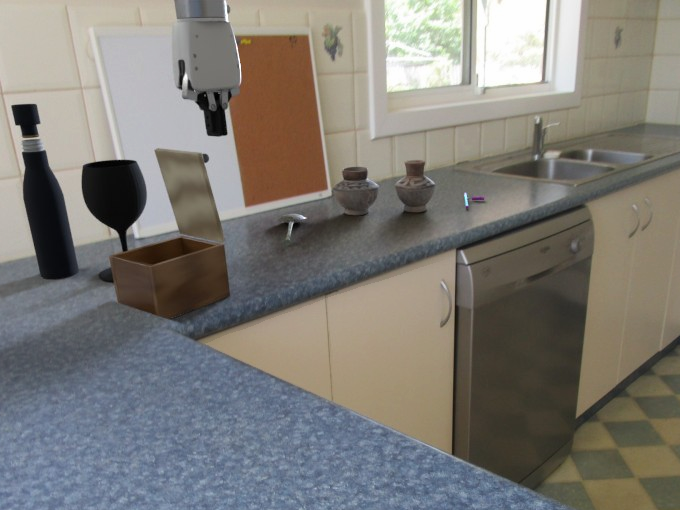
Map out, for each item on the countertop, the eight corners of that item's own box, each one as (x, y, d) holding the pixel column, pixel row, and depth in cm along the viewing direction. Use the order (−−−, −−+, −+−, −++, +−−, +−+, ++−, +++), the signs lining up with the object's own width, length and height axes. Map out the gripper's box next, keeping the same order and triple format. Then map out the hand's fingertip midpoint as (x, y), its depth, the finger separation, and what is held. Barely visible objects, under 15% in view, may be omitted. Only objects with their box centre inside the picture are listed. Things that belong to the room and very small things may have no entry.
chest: (160, 323, 99) (151, 267, 96) (118, 309, 105) (108, 255, 101) (230, 295, 109) (224, 244, 106) (189, 284, 115) (182, 235, 112)
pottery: (439, 214, 159) (439, 164, 155) (334, 219, 156) (331, 168, 152) (431, 204, 169) (431, 156, 165) (333, 208, 167) (330, 161, 163)
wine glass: (128, 285, 115) (107, 170, 108) (85, 278, 119) (63, 166, 112) (171, 268, 124) (155, 160, 117) (130, 262, 128) (112, 157, 121)
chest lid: (197, 154, 99) (218, 145, 101) (153, 149, 104) (175, 141, 107) (222, 242, 106) (241, 232, 108) (179, 233, 111) (198, 224, 114)
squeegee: (486, 205, 163) (466, 205, 163) (486, 208, 163) (466, 208, 164) (482, 192, 177) (464, 192, 177) (482, 195, 177) (464, 195, 178)
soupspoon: (308, 223, 156) (280, 225, 156) (306, 209, 155) (278, 211, 155) (302, 245, 136) (270, 248, 135) (300, 229, 134) (268, 232, 134)
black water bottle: (53, 281, 118) (15, 106, 107) (33, 275, 121) (-6, 105, 111) (86, 271, 123) (52, 103, 112) (66, 266, 126) (32, 102, 116)
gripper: (223, 14, 108) (236, 129, 115) (144, 12, 97) (164, 140, 104) (255, 11, 104) (267, 131, 111) (176, 10, 93) (195, 143, 100)
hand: (217, 135), depth 107 cm, fingers closed
